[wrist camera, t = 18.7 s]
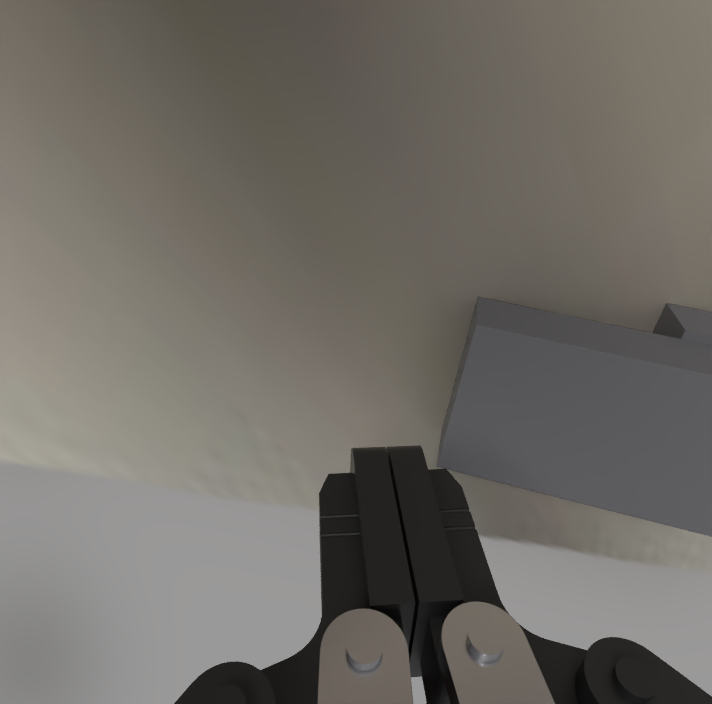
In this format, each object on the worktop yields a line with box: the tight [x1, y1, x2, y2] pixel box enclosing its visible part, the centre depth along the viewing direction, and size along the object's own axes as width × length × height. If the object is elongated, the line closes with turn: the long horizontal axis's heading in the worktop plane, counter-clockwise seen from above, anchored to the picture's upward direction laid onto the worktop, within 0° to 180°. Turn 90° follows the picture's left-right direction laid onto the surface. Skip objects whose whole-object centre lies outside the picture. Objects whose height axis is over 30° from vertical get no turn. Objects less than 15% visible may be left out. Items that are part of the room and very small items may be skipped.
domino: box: [437, 297, 712, 536], centre depth 15 cm, size 2×5×9 cm
